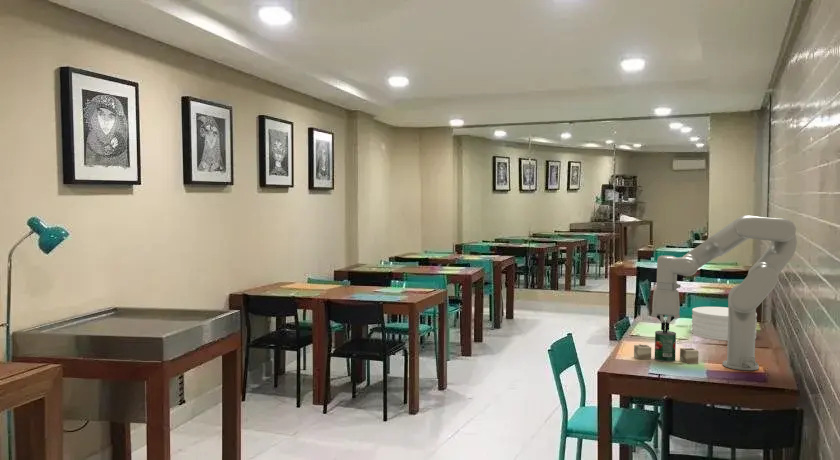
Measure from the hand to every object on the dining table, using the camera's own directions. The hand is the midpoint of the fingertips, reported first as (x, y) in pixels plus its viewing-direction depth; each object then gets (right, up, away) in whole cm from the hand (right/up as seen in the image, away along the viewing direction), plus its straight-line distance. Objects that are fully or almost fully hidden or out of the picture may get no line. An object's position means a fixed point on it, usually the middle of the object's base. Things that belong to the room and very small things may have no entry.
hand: (665, 332), depth 262 cm
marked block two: (-8, -11, +3) cm, 14 cm away
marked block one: (+8, -11, -3) cm, 14 cm away
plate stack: (+47, -10, +51) cm, 70 cm away
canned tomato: (0, -11, 0) cm, 11 cm away
